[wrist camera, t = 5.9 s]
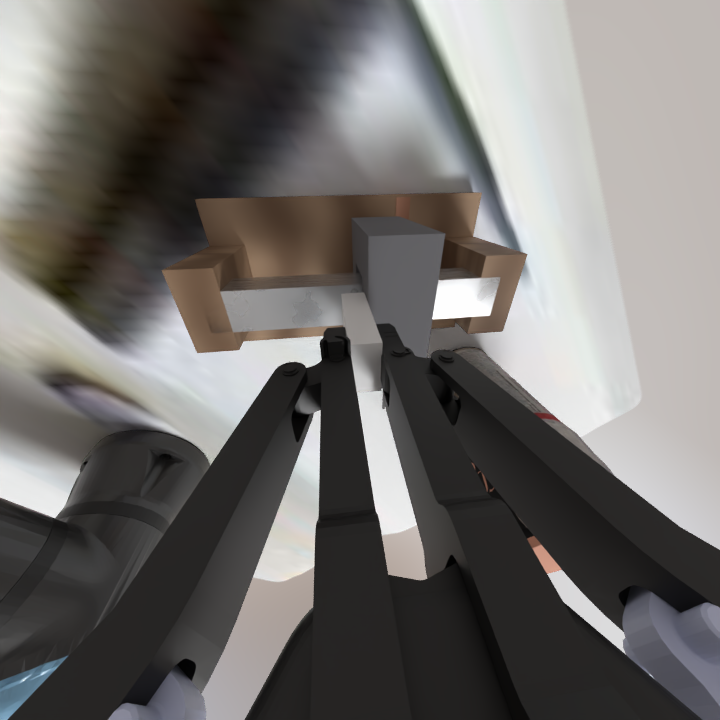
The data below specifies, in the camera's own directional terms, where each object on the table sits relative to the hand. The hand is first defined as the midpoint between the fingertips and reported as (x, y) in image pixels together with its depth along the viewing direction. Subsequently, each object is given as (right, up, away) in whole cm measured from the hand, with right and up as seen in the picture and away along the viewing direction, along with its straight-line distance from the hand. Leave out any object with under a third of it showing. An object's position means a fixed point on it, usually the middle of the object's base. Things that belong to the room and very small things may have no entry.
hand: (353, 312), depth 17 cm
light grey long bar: (0, +3, +4) cm, 5 cm away
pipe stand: (-1, +6, +9) cm, 11 cm away
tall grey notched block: (+2, +5, +7) cm, 9 cm away
